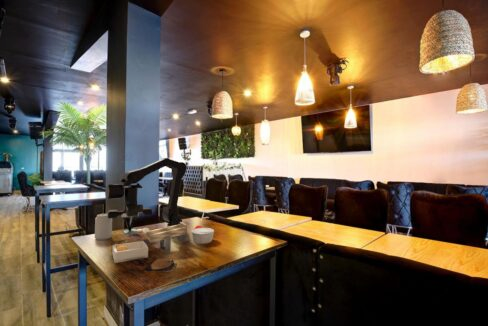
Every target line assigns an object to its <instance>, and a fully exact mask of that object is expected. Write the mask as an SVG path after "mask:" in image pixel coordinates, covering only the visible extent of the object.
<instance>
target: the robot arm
mask: <svg viewBox="0 0 488 326" xmlns="http://www.w3.org/2000/svg"><path fill="white" fill-rule="evenodd" d="M164 167H166V168H168V169H171V177H172V181H171V186H170V190H169V191H170V192H169V197H168V203H167V205H166V206H163V208H162V213H161V215H162V219H163V220H164V221H165V223H166V227H169V226H174V225H179V224H180V222H183V220H182V218H181V217H179V208H178V202H179V197H180V189H181V184H182V180H183V178H184V176H185V174H186V173H187V170H188V166H187V164H186V163H185V162H182V161H181V162H180V161H176V160H174V159H170V158H169V157H163V158H161V159H158V160H157V161H154V162H153V163H150V164H148V165H144V167H141V168H136V169H133V170H129V171H126V172H124V174H123V178H122V179H121V180H120V181H119V182H118V183H116V184H115V183H107V186H106V189H105V191H104V192H105V194H104V195H105V199H106V200H115V199H116V200H119V199H122V197H123V210H120V211H118V209H108V210H107V213H106V214H107V217H108V218H112V219H116V218H117V217H119V216H120V218H121V219H122V220H124V221H125V223H126V226H127V230H129V231H131V229H133V226H134V224H135V221H136V219H138V218H140V214H143V215H145V216H152V215H153V209H152V208H150V207H144V205H143V204H138V195H139V193H138V191H139V190H138V189H142V188H143V186H142V185H141V184H140V181H141V180H143V179H144V178H145V177H146V176H148V175H149V174H152V173H154V172H156V171H158V170H160V169H162V168H164Z"/></svg>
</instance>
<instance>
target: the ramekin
mask: <svg viewBox="0 0 488 326" xmlns="http://www.w3.org/2000/svg"><path fill="white" fill-rule="evenodd" d="M193 229H194V228H193ZM193 229H192V230H191V235H192V241H193V242H194V243H195V244H201V245H202V244H203V245H205V244H209V243H211V242H212V241H213V238H214V234H215V230H214V229H213V228H211V227H205V228H197V229H194V230H193Z"/></svg>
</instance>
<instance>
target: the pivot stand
mask: <svg viewBox="0 0 488 326" xmlns="http://www.w3.org/2000/svg"><path fill="white" fill-rule="evenodd" d="M171 240H172V238H171V237H170V236H168V237H165V239H164V240H160V241H158V243H159V244H158V247H159V248H164V254H165V255H169V254H171V243H172V241H171Z"/></svg>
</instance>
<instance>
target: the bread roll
mask: <svg viewBox="0 0 488 326" xmlns="http://www.w3.org/2000/svg"><path fill="white" fill-rule="evenodd" d="M177 265H178V262H175V261H174V260H173V259H172V260H171V259H170V258H163V257H162V258H161V257H160V258H156V259H153V260H151V262H149V263H148V265H146V266H145V268H143V272H144V273H168V272H169V273H171V272H174V271H175V268H176V266H177Z"/></svg>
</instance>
